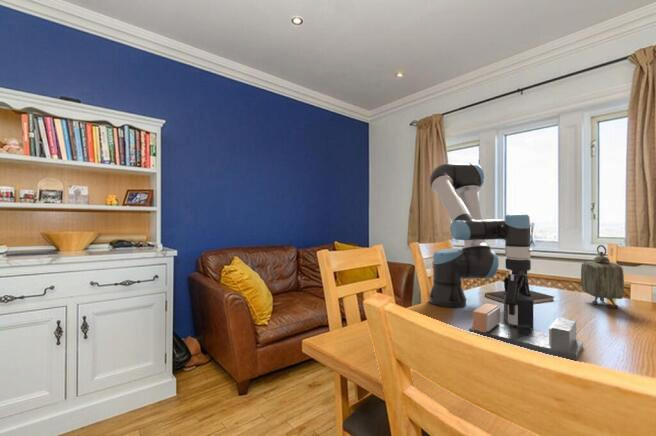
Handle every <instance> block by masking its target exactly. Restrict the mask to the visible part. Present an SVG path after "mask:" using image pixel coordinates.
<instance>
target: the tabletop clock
mask: <svg viewBox="0 0 656 436" xmlns="http://www.w3.org/2000/svg"><path fill="white" fill-rule="evenodd" d="M596 247H597V248H596V252H597V254H598V256H595V257H594V259H593V260H592V261H590V260H589V261H586V262H583V263H581V269H580V283H581V284H580V285H581V289H582V291H583V292H585V293H587V294H588V295H589V296H591V297H594V299H593V300H592V304H593V305H598V299H599V301H601V302H605V300H606V299H607V300H609V301H610V303H611V304H612V306H613V308H614V309H619V306H618V304H616V303H615V301H614V300H613V299H615V300H622V299H623V297H624V292H625V291H624V289H625V288H624V287H625V281H624V280H625V276H624V270H623V269H624V268H623V267H622V266H621V265H620V264H618V263H616V262H613V261H610V259H609V258H608V257H607V256H606V255H607V248H606V247H605V245H603V244H599V245H598V246H596ZM600 247H601V248H603V249H604V251H599V249H600Z"/></svg>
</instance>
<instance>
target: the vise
mask: <svg viewBox="0 0 656 436" xmlns="http://www.w3.org/2000/svg"><path fill="white" fill-rule="evenodd" d="M469 331H470V332H474V333H477V334H480V335H483V336H487V337H491V338H494V339H497V340H501V341H504V342H503V343H505V342H507V343H506V344H509V343H510V344H509V345H513V344H514V346H517V345H518V347H521V348H525V349H528V350H533V351H538V352H540V353H544V354H545V353H546V354H548V355H552V356H557V357H560V358H565V359H568V360H572V361H575V362H576V361H577V360H578V358H579V356H580V354H581V352H582V350H583V348H584V342H583V341H581V340H577V319H571V318H567V317H561V316H559V317H558V318H556V319H555V320H554V322H553V323H552V324H551V325H550V326H549V329H548V331H549V333H545V332H540V331H536V330H533V331H532V330H527V329H523V328H518V327H513V326H509V325H508V324H503V323H501V322H500V323H499V324H497V325H496V326H495V327H494V328H492V329H491V330H490V331H487V332H486V333H485V332H481V331H477V330H473V325H472V326H471V327H469V328H468V332H469ZM497 340H496V341H497ZM501 341H500V342H501Z"/></svg>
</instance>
